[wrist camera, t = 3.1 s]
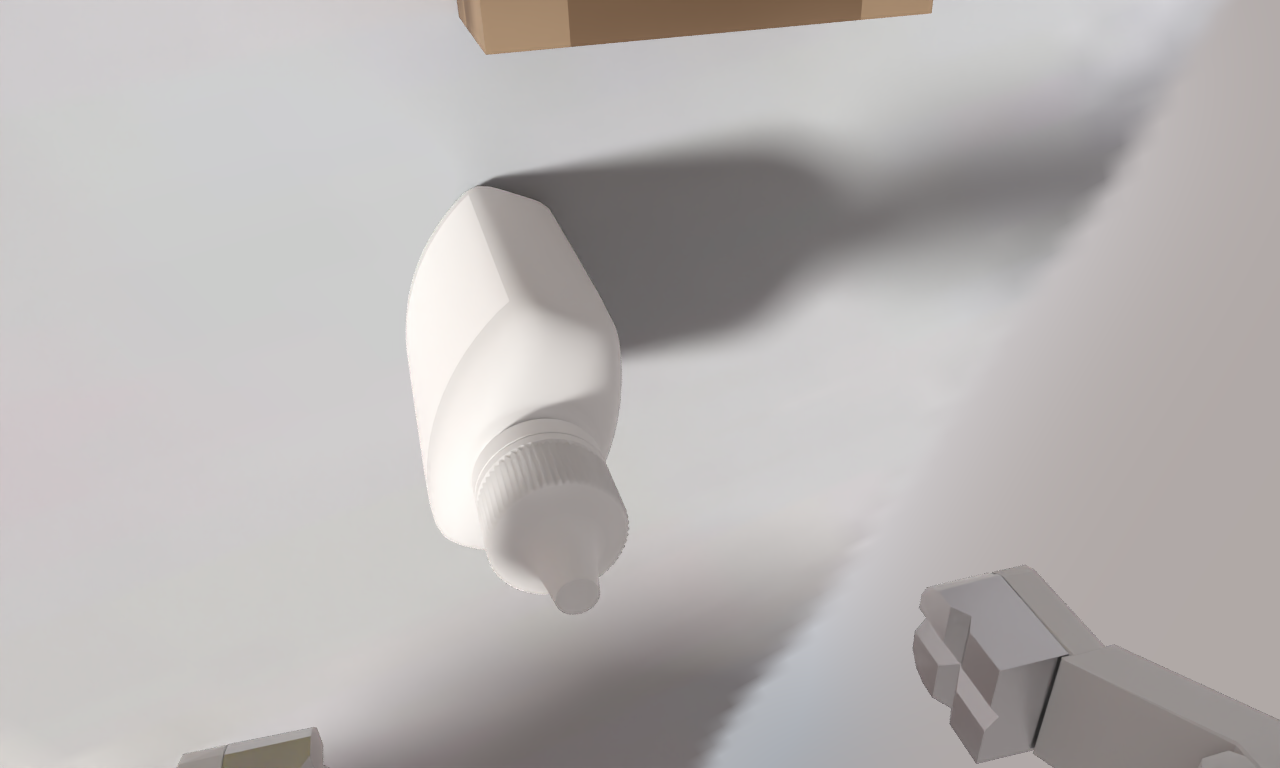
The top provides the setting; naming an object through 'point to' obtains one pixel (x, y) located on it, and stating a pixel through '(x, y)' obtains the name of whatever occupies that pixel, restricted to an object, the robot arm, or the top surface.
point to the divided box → (651, 19)
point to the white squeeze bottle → (517, 396)
